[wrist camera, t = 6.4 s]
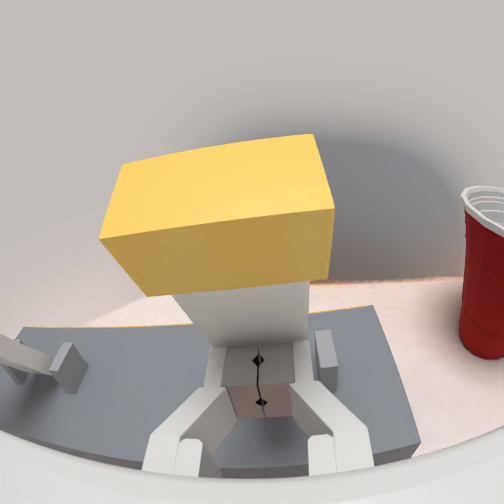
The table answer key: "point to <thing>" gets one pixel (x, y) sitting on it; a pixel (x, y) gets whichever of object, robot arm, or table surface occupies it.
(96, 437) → the switch box
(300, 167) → the near lever
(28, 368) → the far lever
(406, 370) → the table surface
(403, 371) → the table surface
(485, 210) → the plastic cup
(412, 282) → the table surface
